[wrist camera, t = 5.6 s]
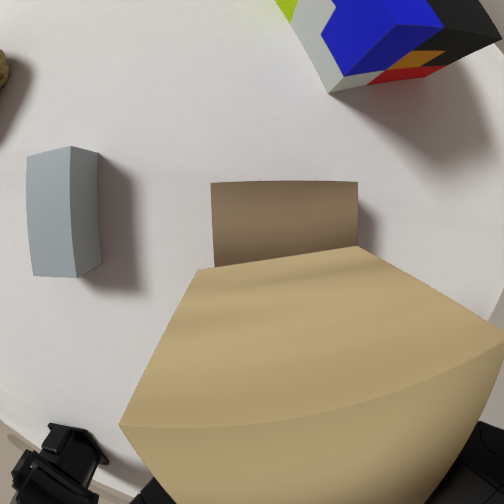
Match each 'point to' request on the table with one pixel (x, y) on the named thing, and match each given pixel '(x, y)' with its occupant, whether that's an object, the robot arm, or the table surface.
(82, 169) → the grey block
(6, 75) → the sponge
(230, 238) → the walnut block
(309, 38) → the puzzle toy
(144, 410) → the oak block
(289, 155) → the table surface
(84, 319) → the table surface
